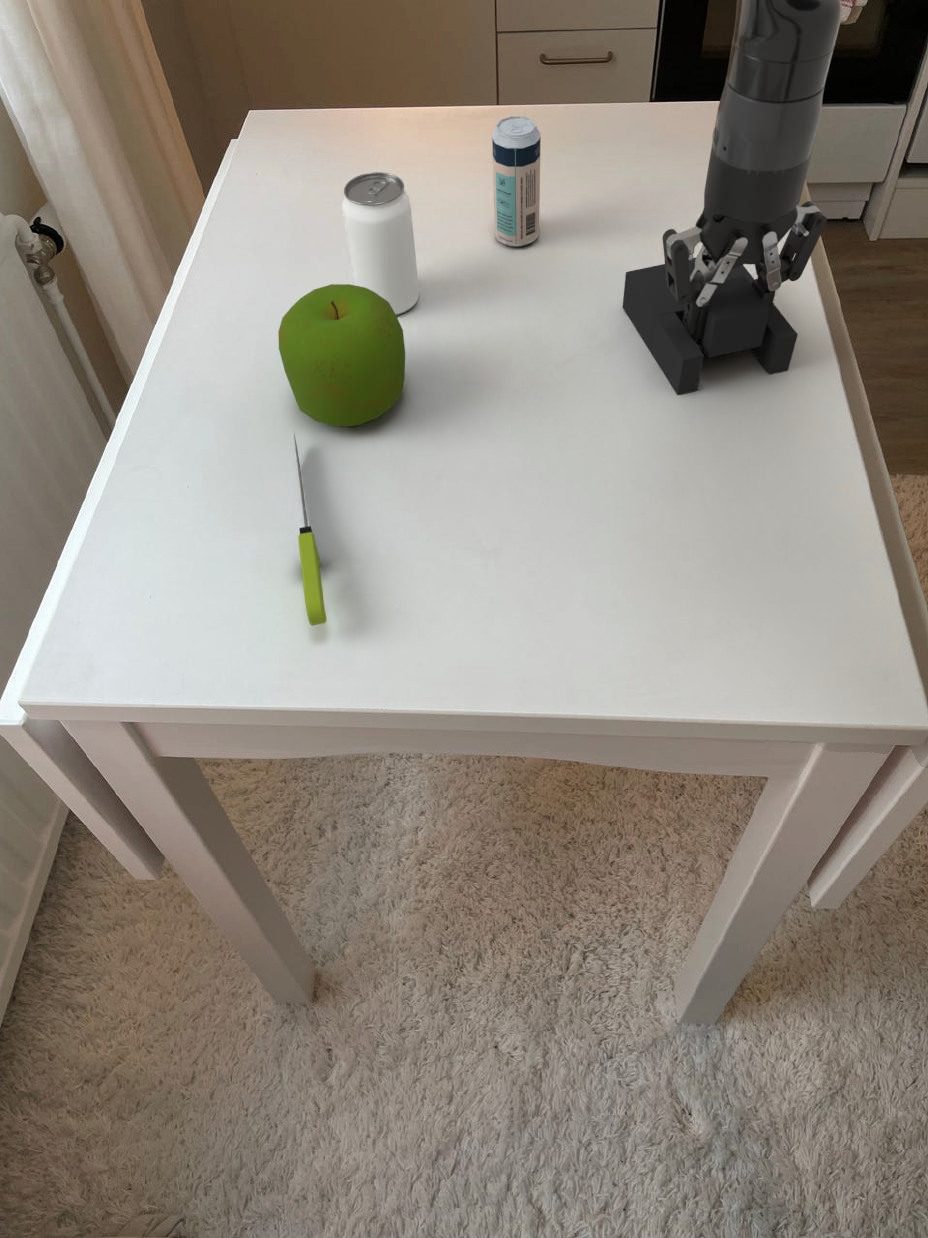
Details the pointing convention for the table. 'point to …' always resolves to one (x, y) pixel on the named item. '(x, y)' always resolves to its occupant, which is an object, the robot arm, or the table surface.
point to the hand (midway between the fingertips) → (724, 326)
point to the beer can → (516, 180)
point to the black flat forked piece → (672, 342)
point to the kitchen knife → (310, 565)
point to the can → (381, 238)
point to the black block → (734, 318)
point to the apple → (343, 354)
